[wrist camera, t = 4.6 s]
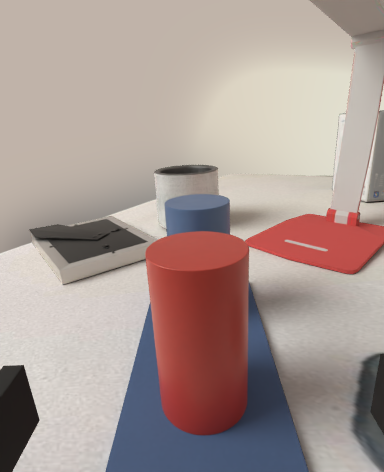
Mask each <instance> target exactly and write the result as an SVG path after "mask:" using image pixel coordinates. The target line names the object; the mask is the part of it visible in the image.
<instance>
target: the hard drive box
mask: <svg viewBox="0 0 384 472" xmlns="http://www.w3.org/2000/svg"><path fill="white" fill-rule="evenodd" d="M345 118H346V113H343V114H339V122H338V132H337V143H336V153H335V163H334V174H333V184H332V190H333V191H334V185H335V180H336V174H337V168H338V163H339V156H340V150H341V144H342V137H343V131H344V124H345ZM361 200H362V201H365V202H367V201H368V202H371V201H384V110H382V111H379V114H378V119H377V124H376V129H375V135H374V140H373V145H372V150H371V155H370V160H369V165H368V170H367V174H366V179H365V183H364V188H363V192H362V196H361Z"/></svg>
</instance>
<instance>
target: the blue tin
mask: <svg viewBox="0 0 384 472" xmlns="http://www.w3.org/2000/svg"><path fill="white" fill-rule="evenodd" d="M164 205H165V218H166V230H167V236H170V235H174V234H179V233H185V232H196V231H209V232H219V233H225V234H229V235H230V201H229V199H228V198H226V197H224V196H220V195H212V194H193V195H184V196H179V197H175V198H171V199H169V200H167V201H166V202H165V203H164Z"/></svg>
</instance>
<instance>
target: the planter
mask: <svg viewBox="0 0 384 472" xmlns="http://www.w3.org/2000/svg"><path fill="white" fill-rule="evenodd" d="M154 173H155V186H156V199H157V213H158V222H159V225H160V226H162V227H163V228H165V229H166V218H165V205H164V203H165V202H166V201H167V200H169V199H171V198H175V197H179V196H184V195H193V194H212V195H219V190H218V168H217V167H214V166H209V165H182V166H172V167H166V168H161V169H158V170H156V171H155V172H154Z"/></svg>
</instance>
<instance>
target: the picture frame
mask: <svg viewBox="0 0 384 472" xmlns="http://www.w3.org/2000/svg"><path fill="white" fill-rule="evenodd" d="M30 231H31V239H32V243H33V245H34V246H35V248H36V249H37V250H38V252H39V253H40V254H41V256H42V257H43V258H44V260H45V261H46V263H47V264H48V265H49V267H50V268H51V269H52V271H53V272H54V273H55V275H56V276H57V278H58V279H59V280H60V282H61V283H62V284H63V285H64V284H67V283H70V282H73V281H76V280H80V279H83V278H86V277H89V276H93V275H96V274H99V273H102V272H105V271H109V270H112V269H115V268H118V267H122V266H125V265H128V264H131V263H135V262H138V261H141V260H144V259H146V257H145V252H146V249H147V248H148V247H149V246H150V245H151V244H152V243H153V242H155V241H157V239H156V238H154V237H152V236H150V235H148V234H146V233H144V232H142V231H140V230H138V229H136V228H134V227H132V226H130V225H128V224H126V223H124V222H122V221H121V220H119V219H117V218H115V217H113V216H108V217H104V218H99V219H95V220H90V221H85V222H81V223H76V224H71V225H67V226H64V225H52V226H46V227H41V228H35V229H30Z"/></svg>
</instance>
